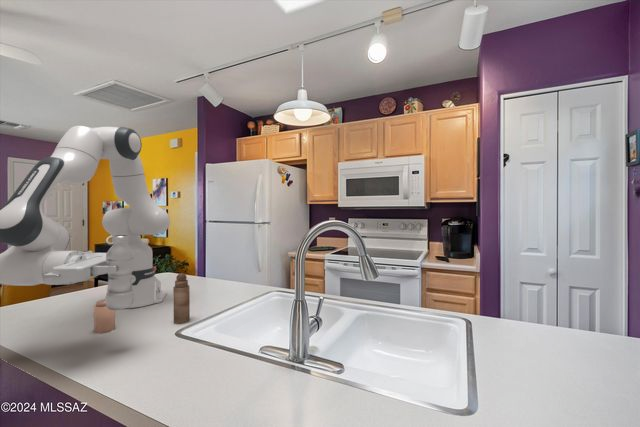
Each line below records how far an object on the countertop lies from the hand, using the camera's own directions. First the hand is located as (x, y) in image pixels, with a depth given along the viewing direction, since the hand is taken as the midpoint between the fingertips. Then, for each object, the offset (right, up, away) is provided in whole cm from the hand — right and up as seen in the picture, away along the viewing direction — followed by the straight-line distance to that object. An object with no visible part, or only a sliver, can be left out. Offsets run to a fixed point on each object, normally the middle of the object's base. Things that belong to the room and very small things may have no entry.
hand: (124, 266), depth 82 cm
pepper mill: (+6, -23, +21) cm, 32 cm away
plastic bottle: (-1, -12, 0) cm, 12 cm away
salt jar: (-15, -23, +14) cm, 31 cm away
